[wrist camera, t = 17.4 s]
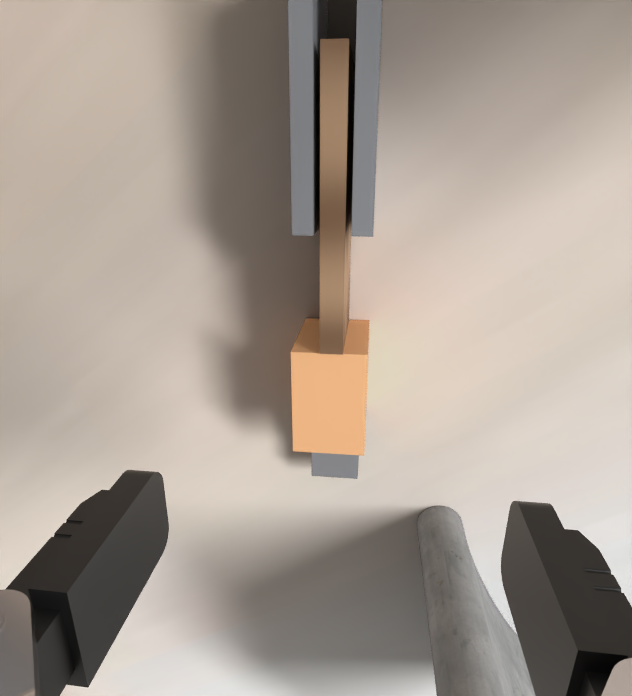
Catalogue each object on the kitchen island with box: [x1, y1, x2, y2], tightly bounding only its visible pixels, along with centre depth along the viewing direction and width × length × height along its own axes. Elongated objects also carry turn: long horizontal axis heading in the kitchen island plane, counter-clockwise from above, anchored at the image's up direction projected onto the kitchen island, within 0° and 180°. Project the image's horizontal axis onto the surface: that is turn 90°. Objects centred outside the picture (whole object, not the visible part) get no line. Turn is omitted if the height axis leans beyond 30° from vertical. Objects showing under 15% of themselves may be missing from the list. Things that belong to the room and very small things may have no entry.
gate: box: [319, 38, 355, 355], centre depth 26 cm, size 14×1×6 cm, turn 0°
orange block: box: [291, 318, 369, 456], centre depth 29 cm, size 6×4×6 cm, turn 0°
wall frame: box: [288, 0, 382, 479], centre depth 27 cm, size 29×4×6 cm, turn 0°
